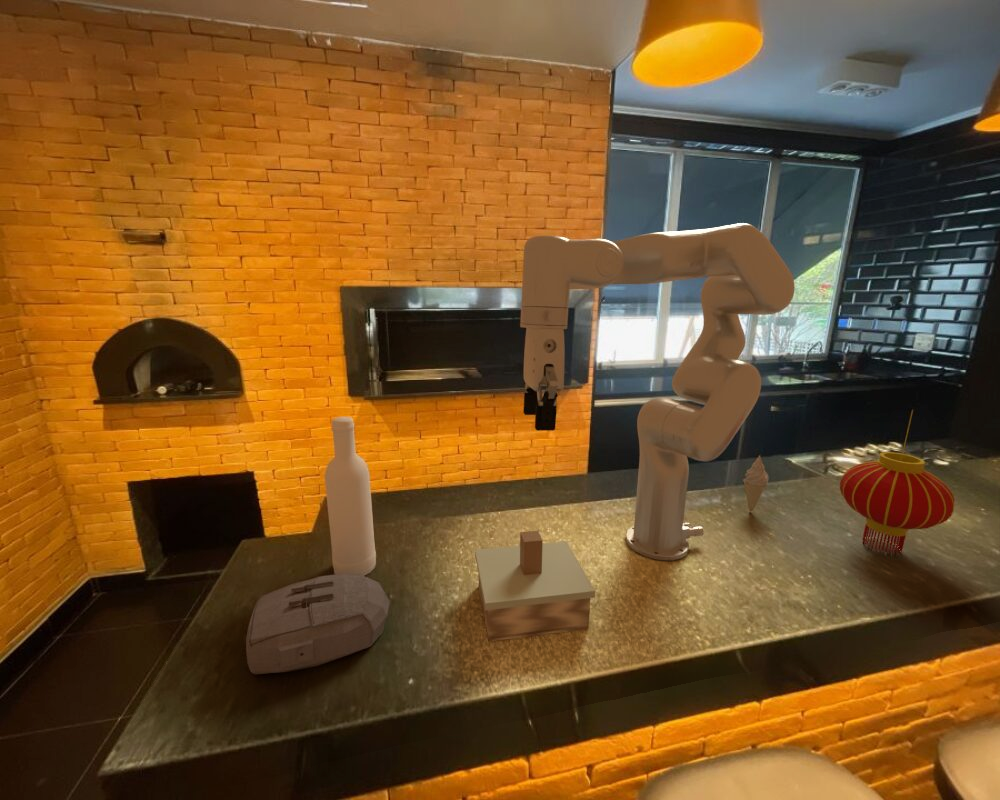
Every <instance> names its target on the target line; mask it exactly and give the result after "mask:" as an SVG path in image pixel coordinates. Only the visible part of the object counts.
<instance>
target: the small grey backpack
mask: <svg viewBox="0 0 1000 800" xmlns="http://www.w3.org/2000/svg"><path fill="white" fill-rule="evenodd" d="M390 603H391V601H390V599H389V598H388V596H387V594H386V592H385V591H384V589H383V588H382V585H381V584H380V582H378V581H376V580H373V579H371V578H369V577H367V576H366V575H365V576H362V575H360V574H330V575H329V574H327V575H321V576H316V577H314V578H309V579H306V580H302V581H298V582H293V583H291V584H287V585H286V586H283V587H280V588H278V589H276V590H275V589H274V590H272V591H270V592H268V593H265V594H262V595H261V596H260V597H258V599H257V601H256V602H255V605H254V608H253V610H252V612H251V613H252V614H251V616H250V619H249V622H248V626H247V631H246V632H247V633H246V637H245V638H246V639H245V647H246V649H245V652H246V660H247V661H246V663H247V666H248V668H249V670H250V671H249V672H250V673H251V674H253V675H263V674H276V673H277V674H279V673H287V672H294V671H298V670H303V669H308V668H314V667H318V666H321V665H324V664H327V663H329V662H332V661H335V660H338V659H341V658H344V657H346V656H349V655H353V654H355V653H357V652H360V651H362V650H365V649H368V648H370V647H371V646H373V644H374V643H375V642H376V641H377V640H378V639H379V637H380V636H381V635H382V634H383V633H384V628H385V623H386V620H387V618H388V613H389V607H390Z"/></svg>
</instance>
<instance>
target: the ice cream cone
mask: <svg viewBox="0 0 1000 800" xmlns="http://www.w3.org/2000/svg"><path fill="white" fill-rule="evenodd" d="M744 476H745V478H743V479H742V480H743V483H744V484H743V485H744V488H745V489H744V490H745V495H746V501H747V506H748V511H749V510H750V511H752V512H754V510H755V507H756V506H757V505H758V502H759V500H760V498H761V496H762V495H763V493H764V490H765V489H766V487H767V486H768V482H769V474H768V472H766V471H765V465H764V464H763V460H762V458H761V454H759V455H758V457H757V458H756V459H755V461H754V462H753V463H752V464H751V468H749V469H748V470H746V473H745V474H744Z"/></svg>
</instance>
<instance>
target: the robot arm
mask: <svg viewBox="0 0 1000 800" xmlns="http://www.w3.org/2000/svg"><path fill="white" fill-rule="evenodd" d="M524 243H525V244H524V247H523V263H522V282H521V283H522V284H521V301H520V302H521V303H520V304H521V305H520V323H519V326H520V327H519V328H526V329H525V330H526V331H525V336H524V337H525V338H524V340H525V341H524V352H523V354H524V357H523V381H524V382H525V385H524V393H523V396H524V397H523V414H524V415H525V416H535V417H534V429H535V431H555V430H556V426H557V425H556V424H557V423H556V422H557V408H558V399H557V398H558V393H560V392H562V391H563V390H564V387H565V384H564V383H565V353H566V352H565V347H566V346H565V331H564V330H567V329H568V322H569V321H568V317H569V304H570V291H571V290H593V289H594V290H595V289H601V288H605V287H609V286H611V285H648V284H649V285H650V284H660V283H661V284H662V283H668V282H675V281H683V280H685V281H686V280H691V279H699V278H706V279H705V281H704V282H703V284H702V286H701V291H700V303H701V308H702V315H703V316H702V317H703V325H702V326H703V327H702V330H701V333H700V335H699V336H698V338H697V340H696V341H695V342H694V345H692V347H691V349H690V350H689V351H688V353H687V354H686V356H685V357H684V358H683V361H682V362H681V363H680V365H679V366H678V368H677V369H676V370H675V372H674V375H673V378H672V380H671V387H672V390H673V392H674V393H675V394H676V395H677V397H680V398H681V399H684V400H686V401H690V402H692V403H696V404H700V405H704V406H703V407H702V406H699V405H695V404H691V403H690V402H685V401H681V400H678V399H674V398H669V397H655V398H652V399H650V400H648V401H646V402H645V403H644V404H643V405H642V406H641V408H640V410H639V412H638V416H637V420H636V423H637V424H636V427H637V428H636V429H637V437H638V443H639V444H638V445H639V459H638V460H639V461H638V462H639V463H638V474H637V476H638V477H637V488H636V498H635V499H636V500H635V509H634V510H635V511H634V523H633V524H634V525H633V526H631V527H629V528H628V529H627V530H626V534H625V541H626V544H627V546H629V548H631V550H633V551H634V552H635V553H638V554H640V555H642V556H644V557H646V558H650V559H653V560H659V561H676V560H680V559H683V558H684V557H686V556H687V555H688V553H689V549H690V544H689V541H688V539H690V538H691V537H701V536H704V533H705V532H704V528H703V527H702V526H700V525H699V526H691V523H690V522H689V521H688V522H687V521H686V522H685V521H684V519H685V510H686V509H685V508H686V503H687V502H686V501H687V500H686V499H687V491H688V483H689V475H690V474H689V473H690V467H689V461H688V460H689V459H688V458H690V459H693V460H695V461H700V462H709V461H713V460H715V459H717V458H718V457H719V456H720V455H721V454H723V452H724V451H725V450H726V449H727V447H728V446H729V444H730V443H731V442H732V441H733V439H734V437H735V435H736V434H737V433H738V431H739V430H740V429H741V427H742V425H743V424H744V422H745V421H746V420H747V418H748V416H749V415H750V413H751V411H752V410H753V409H754V407H755V405H756V404H757V401H758V399H759V397H760V393H761V389H762V377H761V374H760V371H759V370H758V369H757V367H756V366H755V365H753V364H751V363H749V362H747V361H744V360H740V359H739V358H740V357H741V355H742V353H743V352H744V350H745V347H746V335H745V332H744V329H743V327H742V323H741V320H740V317H739V315H758V316H759V315H762V316H763V315H764V316H767V315H775V314H777V313H780V312H781V311H783V310H785V309H786V308H787V307H788V306H789V305H790V303H791V302H792V300H793V299H794V298H793V297H794V295H795V289H796V287H795V281H794V276H793V274H792V272H791V270H790V269H789V267H788V266H787V264H786V262H785V261H784V260H783V258H782V257H781V256H780V254H779V253H778V251H777V250H776V248H775V246H774V245H773V244H772V243H771V241H770V240H769V239H768V238H767V237H766V235H765V234H763V232H762V231H761V230H759V228H757V227H755V226H754V225H752V224H750V223H744V222H742V223H741V222H740V223H734V224H730V225H729V224H727V225H723V226H718V227H717V226H716V227H711V228H701V229H691V230H689V229H688V230H680V231H661V232H660V231H659V232H652V233H651V232H650V233H645V234H640V235H636V236H632V237H629V238H624V239H619V240H613V241H610V240H609V239H604V238H588V239H586V238H584V239H571V238H570V239H569V238H566V237H564V236H558V235H537V236H535V235H534V236H532V237H530V238H528V239H527V240H526V241H525V242H524ZM557 392H558V393H557Z"/></svg>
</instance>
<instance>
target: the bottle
mask: <svg viewBox="0 0 1000 800" xmlns="http://www.w3.org/2000/svg"><path fill="white" fill-rule="evenodd" d="M331 431H332V437H333V438H332V439H333V449H334V457H333V458H332V459H331V460H330V461H329V462H328V463H327V465H326V468H325V471H324V472H325V473H324V485H325V492H326V493H325V495H326V503H327V514H328V525H329V532H330V544H331V555H332V556H331V560H332V561H331V562H332V568H333V575H335V574H360V575H362V576H365V577H366V576H367V575H368V574H371V572H372V571H373V570H374V569H375V568H376V564H377V560H376V559H377V553H376V548H375V547H376V545H375V534H374V533H375V532H374V519H373V518H374V517H373V516H374V515H373V506H372V505H373V503H372V489H371V481H370V480H371V477H370V470H369V468H368V465H367V463H366V461H365V459H364V458H362V457H361V456H360V455H358V454H357V452H356V451H357V450H356V439H355V438H356V437H355V423H354V419H353V418H352V417H351V416H338V417H335V418H333V419H331Z"/></svg>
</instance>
